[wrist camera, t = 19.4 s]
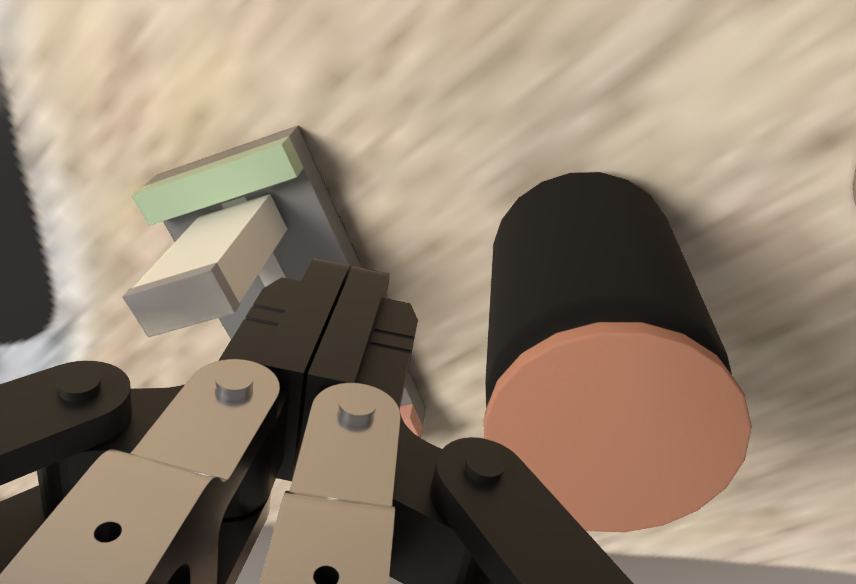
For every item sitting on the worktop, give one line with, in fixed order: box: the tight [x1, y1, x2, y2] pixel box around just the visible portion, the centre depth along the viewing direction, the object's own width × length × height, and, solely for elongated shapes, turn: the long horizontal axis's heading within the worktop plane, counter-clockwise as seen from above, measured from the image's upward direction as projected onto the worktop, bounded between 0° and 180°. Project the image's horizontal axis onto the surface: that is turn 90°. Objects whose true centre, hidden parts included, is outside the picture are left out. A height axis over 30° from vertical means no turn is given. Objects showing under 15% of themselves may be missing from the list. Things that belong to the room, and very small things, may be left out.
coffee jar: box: [484, 172, 752, 532], centre depth 37 cm, size 11×11×18 cm
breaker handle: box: [122, 194, 287, 337], centre depth 39 cm, size 2×5×10 cm, turn 110°
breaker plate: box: [132, 126, 426, 438], centre depth 47 cm, size 22×10×4 cm, turn 20°
